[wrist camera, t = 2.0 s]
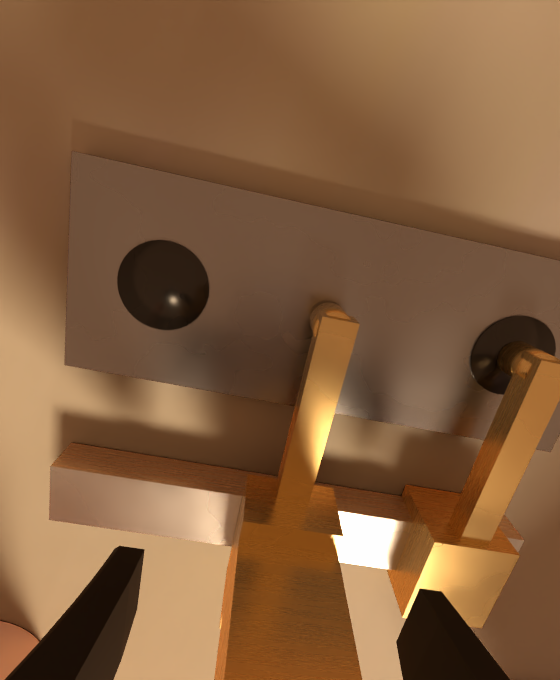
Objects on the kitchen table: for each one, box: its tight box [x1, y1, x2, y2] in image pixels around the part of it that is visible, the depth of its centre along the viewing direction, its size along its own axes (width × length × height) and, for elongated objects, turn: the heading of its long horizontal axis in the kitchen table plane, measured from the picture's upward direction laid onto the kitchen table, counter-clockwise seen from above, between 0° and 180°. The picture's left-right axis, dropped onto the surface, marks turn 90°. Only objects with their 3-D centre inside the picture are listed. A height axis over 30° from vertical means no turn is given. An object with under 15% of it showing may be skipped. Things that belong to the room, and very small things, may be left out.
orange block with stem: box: [214, 303, 362, 680], centre depth 8 cm, size 3×9×6 cm, turn 168°
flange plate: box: [65, 151, 560, 452], centre depth 11 cm, size 15×6×1 cm, turn 78°
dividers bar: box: [49, 341, 560, 628], centre depth 11 cm, size 15×9×2 cm, turn 78°
